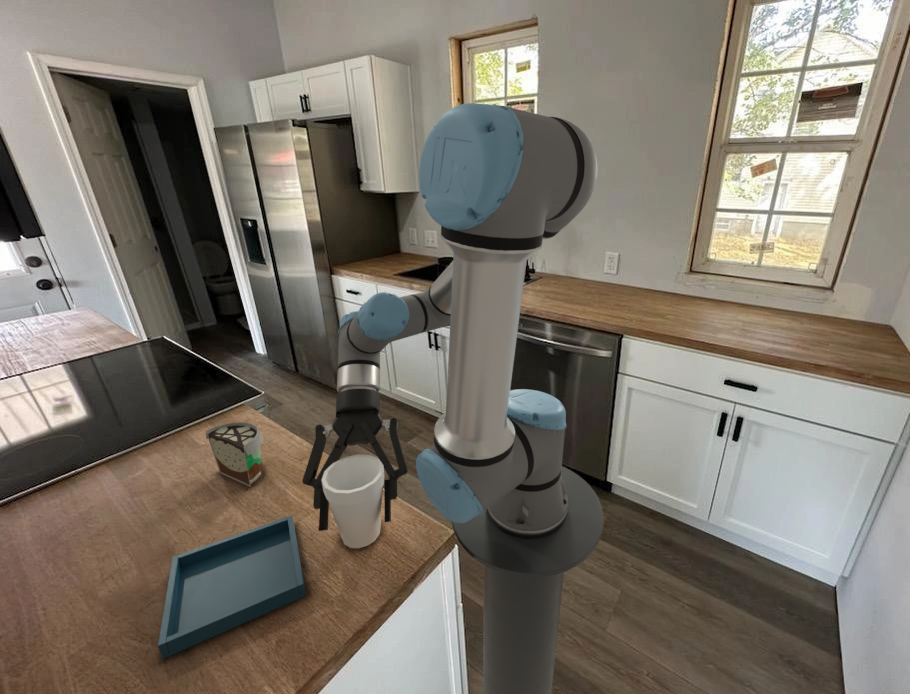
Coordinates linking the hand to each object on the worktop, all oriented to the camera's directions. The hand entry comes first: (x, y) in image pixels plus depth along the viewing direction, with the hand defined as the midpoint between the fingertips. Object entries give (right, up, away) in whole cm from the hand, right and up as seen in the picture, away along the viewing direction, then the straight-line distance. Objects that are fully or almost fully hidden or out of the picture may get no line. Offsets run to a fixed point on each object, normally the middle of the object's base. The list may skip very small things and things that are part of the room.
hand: (356, 526), depth 67 cm
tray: (-16, -6, -4) cm, 18 cm away
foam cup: (-1, -4, +5) cm, 6 cm away
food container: (-29, +3, +19) cm, 35 cm away
